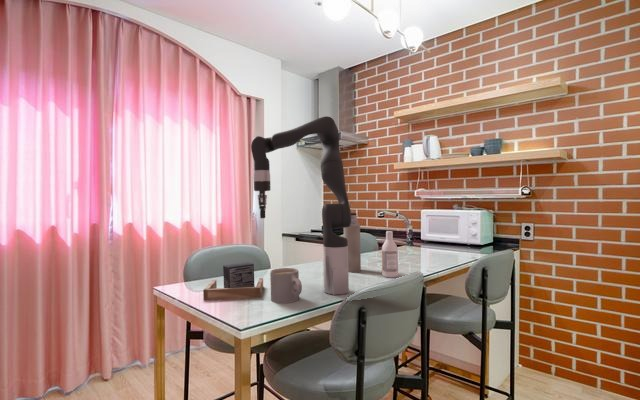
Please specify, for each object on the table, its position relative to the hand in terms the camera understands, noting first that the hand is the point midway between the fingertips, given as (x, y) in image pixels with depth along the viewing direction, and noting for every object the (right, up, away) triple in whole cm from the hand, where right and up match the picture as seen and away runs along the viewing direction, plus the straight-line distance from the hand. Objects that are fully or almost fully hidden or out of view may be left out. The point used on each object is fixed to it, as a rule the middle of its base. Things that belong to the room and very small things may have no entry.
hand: (262, 218), depth 161 cm
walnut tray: (-6, -27, -27) cm, 39 cm away
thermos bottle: (+42, -26, +9) cm, 50 cm away
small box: (-5, -27, -25) cm, 37 cm away
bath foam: (+58, -26, -4) cm, 63 cm away
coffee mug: (+15, -27, -38) cm, 49 cm away
